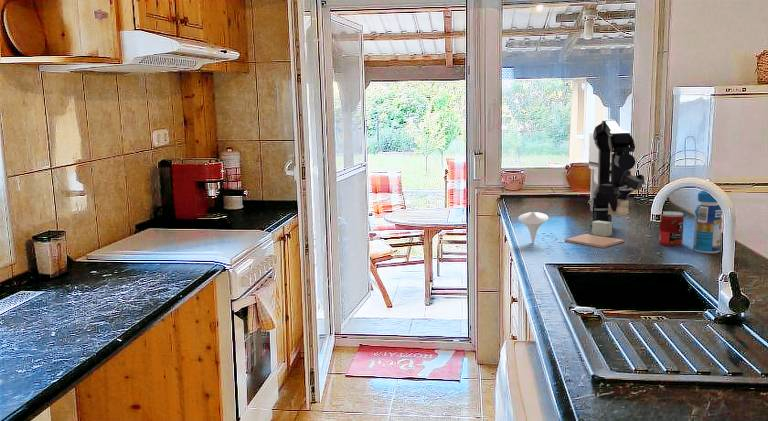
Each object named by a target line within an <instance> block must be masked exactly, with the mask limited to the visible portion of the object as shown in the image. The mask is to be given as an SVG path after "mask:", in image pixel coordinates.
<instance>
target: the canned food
mask: <svg viewBox="0 0 768 421" xmlns="http://www.w3.org/2000/svg"><path fill="white" fill-rule="evenodd" d="M662 212H663V214H662V221H661V222H659V221H658V222H659V226H658V227H659V228H658V243H659V244H660V245H662V246H668V247H679V246H682V244H683V238H684V236H683V235H684V218H685V216H684V212H679V211H670V210H669V211H667V210H666V211H662Z"/></svg>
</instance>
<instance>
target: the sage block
mask: <svg viewBox="0 0 768 421" xmlns="http://www.w3.org/2000/svg"><path fill="white" fill-rule="evenodd" d="M591 225H592V226H591V235H595V236H602V237H610V236H612V235H613V226H612V225H613V221H612V222H607V221H599V220H598V221H593V220H592V222H591Z"/></svg>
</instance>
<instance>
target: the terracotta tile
mask: <svg viewBox="0 0 768 421" xmlns="http://www.w3.org/2000/svg"><path fill="white" fill-rule="evenodd" d="M564 242H568V243H573V244H578V245H579V244H580V245H584V246H590V247H597V248H604V249H605V248H609V247H612V246H616V245H618V244H622V243H625V240H624V239H619V238H614V237H609V236H599V235H593V234H587V233H584V234H581V235H576V236H573V237H568V238H565V239H564Z"/></svg>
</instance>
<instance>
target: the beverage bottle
mask: <svg viewBox="0 0 768 421" xmlns="http://www.w3.org/2000/svg"><path fill="white" fill-rule="evenodd" d="M705 191H706V190H701V191H700V190H699V191H698V193H697V202H698V204H697V206H696V208H695V210H694V214H695V216H694V218H693V222H694V223H693V224H694V225H693V226H694V227H693V228H694V229H693V245H692V246H693V247H692V249H693V251H694V252H695V253H701V254H718V253H719V252H721V238H722V237H721V235H722V224H723V219H722V215H723V210H722V208H721V206H720V204H719V203H718V202H717V201H716V200H715V199H714V198H713V197H712V196H711V195H710V194H709V193H707V192H705ZM721 210H722V211H721Z"/></svg>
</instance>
